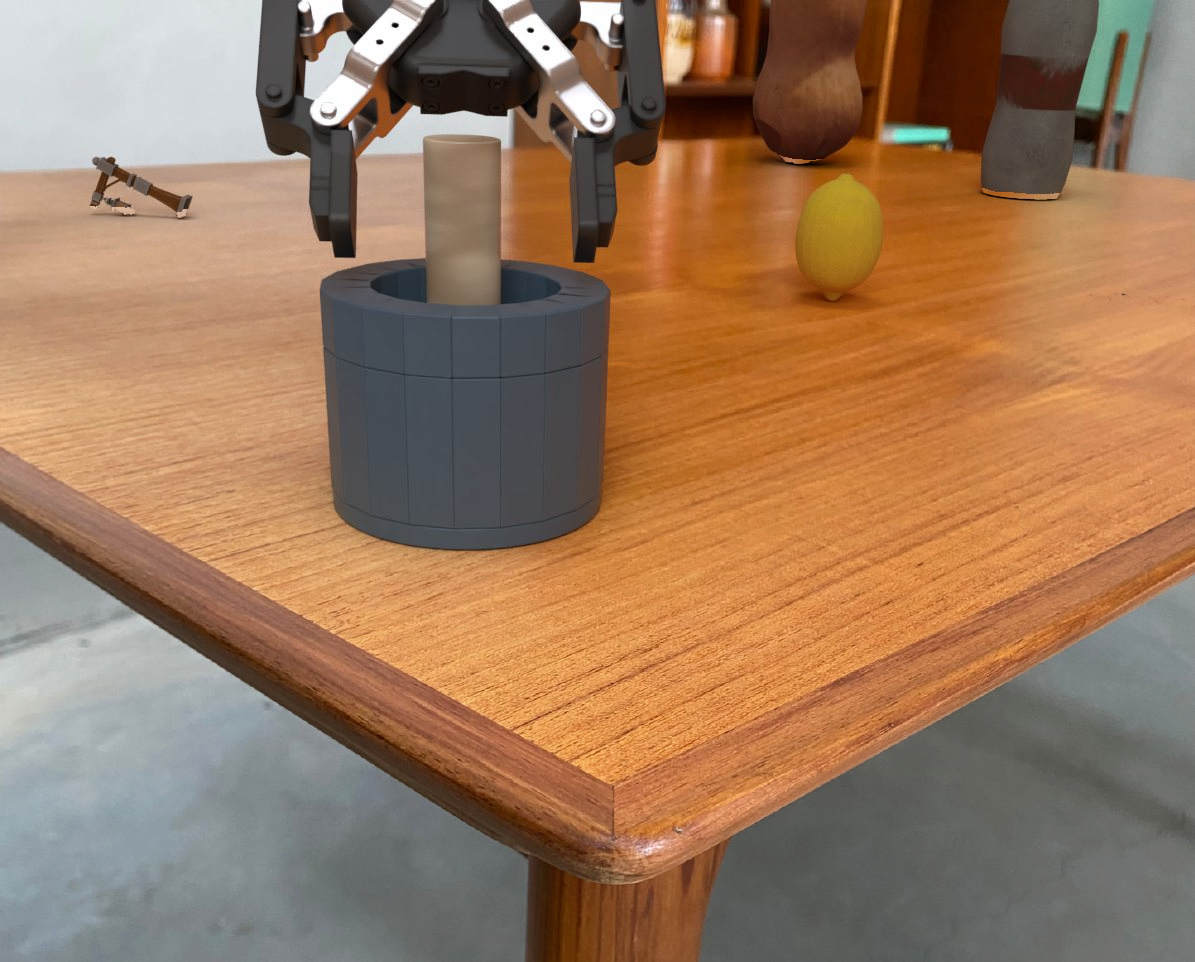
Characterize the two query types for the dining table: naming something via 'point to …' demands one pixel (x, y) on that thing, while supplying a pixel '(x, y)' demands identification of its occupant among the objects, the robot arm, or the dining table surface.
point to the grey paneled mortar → (465, 405)
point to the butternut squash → (810, 78)
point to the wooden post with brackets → (133, 181)
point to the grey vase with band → (1038, 94)
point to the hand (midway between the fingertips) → (466, 246)
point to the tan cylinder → (462, 219)
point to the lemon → (839, 236)
